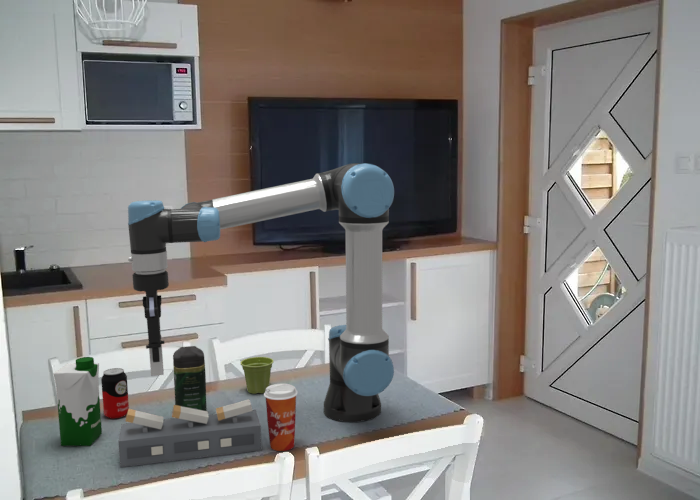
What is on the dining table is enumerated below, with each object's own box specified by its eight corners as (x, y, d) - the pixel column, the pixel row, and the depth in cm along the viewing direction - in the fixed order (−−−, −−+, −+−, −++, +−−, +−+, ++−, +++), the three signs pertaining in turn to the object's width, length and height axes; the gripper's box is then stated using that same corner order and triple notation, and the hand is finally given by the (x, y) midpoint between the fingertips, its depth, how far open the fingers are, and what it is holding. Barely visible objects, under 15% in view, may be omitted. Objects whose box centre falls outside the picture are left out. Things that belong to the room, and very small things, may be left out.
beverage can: (102, 420, 177) (99, 375, 176) (105, 411, 183) (102, 368, 182) (127, 418, 179) (125, 373, 177) (130, 409, 185) (127, 366, 183)
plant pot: (234, 392, 197) (233, 363, 195) (257, 383, 204) (256, 354, 203) (259, 398, 191) (258, 368, 190) (281, 388, 199) (280, 359, 198)
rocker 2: (205, 418, 161) (207, 411, 161) (206, 423, 158) (208, 417, 158) (171, 411, 159) (173, 404, 159) (171, 417, 156) (173, 410, 155)
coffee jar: (208, 423, 174) (205, 352, 172) (176, 427, 172) (172, 355, 170) (205, 410, 184) (202, 342, 181) (175, 413, 181) (171, 345, 179)
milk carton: (92, 447, 161) (86, 365, 158) (54, 447, 162) (48, 365, 159) (107, 432, 170) (101, 353, 167) (70, 432, 170) (64, 353, 167)
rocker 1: (161, 423, 159) (163, 416, 159) (161, 429, 155) (163, 422, 155) (126, 415, 157) (128, 408, 156) (125, 421, 153) (127, 414, 153)
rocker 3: (250, 405, 164) (249, 398, 163) (252, 410, 160) (251, 404, 160) (217, 414, 162) (215, 408, 162) (218, 420, 158) (216, 414, 158)
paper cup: (271, 455, 156) (269, 396, 154) (261, 442, 163) (259, 385, 161) (304, 449, 159) (302, 390, 157) (293, 436, 166) (291, 380, 164)
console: (256, 433, 168) (255, 404, 167) (261, 451, 158) (260, 421, 157) (123, 448, 161) (121, 419, 160) (119, 468, 151) (117, 436, 150)
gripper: (133, 267, 157) (141, 367, 161) (130, 277, 145) (138, 385, 148) (167, 265, 159) (174, 364, 162) (167, 275, 146) (174, 381, 150)
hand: (157, 374), depth 155 cm, fingers closed
